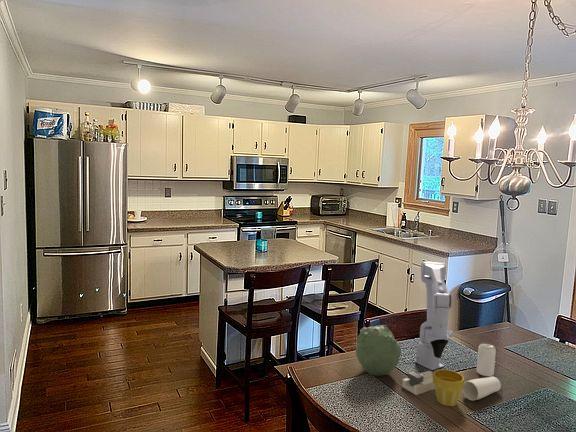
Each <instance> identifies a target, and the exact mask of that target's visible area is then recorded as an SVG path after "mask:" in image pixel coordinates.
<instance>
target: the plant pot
mask: <svg viewBox="0 0 576 432" xmlns="http://www.w3.org/2000/svg"><path fill="white" fill-rule="evenodd" d="M432 377H433V383H434V385H435V389H434V390H435V395H436V396H435V397H436V401H437V402H438V403H439V404H441V405H442V406H447V407H454V406H456V405H457V404H458V399H459V398H460V394H461V391H463V387H464V383H465V377H464V375H462V374H461V373H459V372H457V371H455V370H451V369H445V368H442V369H441V368H438V369H435V370H434V371H433V374H432Z"/></svg>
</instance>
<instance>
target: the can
mask: <svg viewBox="0 0 576 432" xmlns="http://www.w3.org/2000/svg"><path fill="white" fill-rule="evenodd" d="M477 350H478V351H477V361H476V373H477V374H479V376H483V377H485V378H487V377H491V376H493V377H494V373H495V367H496V366H495V365H496V346H495V345H494V344H492V343H490V342H480V343H479V346H478V348H477Z"/></svg>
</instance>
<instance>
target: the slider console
mask: <svg viewBox="0 0 576 432" xmlns="http://www.w3.org/2000/svg"><path fill="white" fill-rule="evenodd" d="M433 373H434V371H432V370H426V371H424V372H420V373H419V374H420V375H422V376H423V382H421V383H419V384H417V385H414V387H413V386H411V385H410V379H408V378H407V377H405V378H403V379H402V382H401V384H402V385H401V387H402V388H403V389H405V390H407V391H409V392H410V393H412V394H413V395H415V396H419V395H421V394H424V393H426V392H429V391H431V390H435V385H434V383H433Z"/></svg>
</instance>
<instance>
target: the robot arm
mask: <svg viewBox="0 0 576 432" xmlns="http://www.w3.org/2000/svg"><path fill="white" fill-rule="evenodd" d="M446 274H447V264H446V263H445V262H435V261H424V260H423V261H422V262H421V265H420V279H421V282H422V283H424V285H425V288H426V289H425V290H426V321H424V322H423V323H422V324H421V325H420V327H419V330H420V331H419V342H417V346H416V349H415V350H416V352H415V360H414V363H417V364H418V365H420V366H422V367H425V368H426V369H428V370H429V371H433V370H434V371H435V370H439V369H441V368H443V367H445V364H442V363H441V358H442V355H443V352H444V349H445V347H446V346H447V345H448V343H449V339H450V338H451V337H452V338H453V337H454V331H452V330H448V328H449V326H448V325H449V317H450V313H449V312H450V309H451V307H452V304H453V301H452V294H451V292H449V291H448V287H447V284H446V283H445V282H444V280H445V277H446Z"/></svg>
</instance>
